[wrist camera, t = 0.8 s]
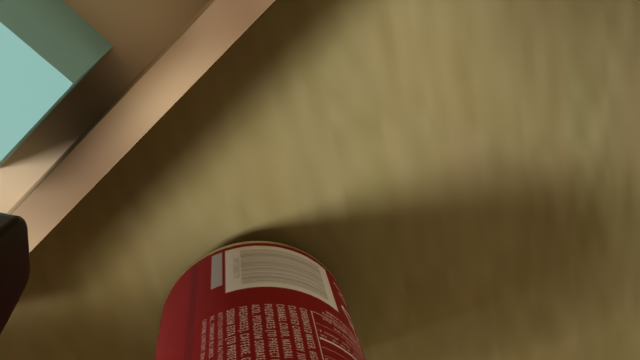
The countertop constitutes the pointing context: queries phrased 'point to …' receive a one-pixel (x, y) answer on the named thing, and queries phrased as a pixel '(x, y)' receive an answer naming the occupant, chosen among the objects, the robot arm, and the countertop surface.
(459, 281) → the countertop surface
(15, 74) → the cube
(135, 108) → the crate
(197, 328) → the soda can
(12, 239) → the robot arm
